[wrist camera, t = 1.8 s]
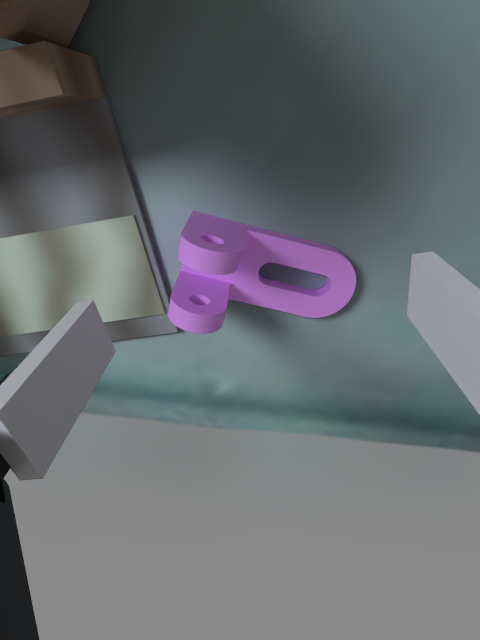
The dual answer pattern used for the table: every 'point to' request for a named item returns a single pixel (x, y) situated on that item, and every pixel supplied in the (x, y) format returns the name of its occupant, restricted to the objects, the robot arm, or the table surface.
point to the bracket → (251, 273)
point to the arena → (68, 205)
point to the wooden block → (41, 20)
